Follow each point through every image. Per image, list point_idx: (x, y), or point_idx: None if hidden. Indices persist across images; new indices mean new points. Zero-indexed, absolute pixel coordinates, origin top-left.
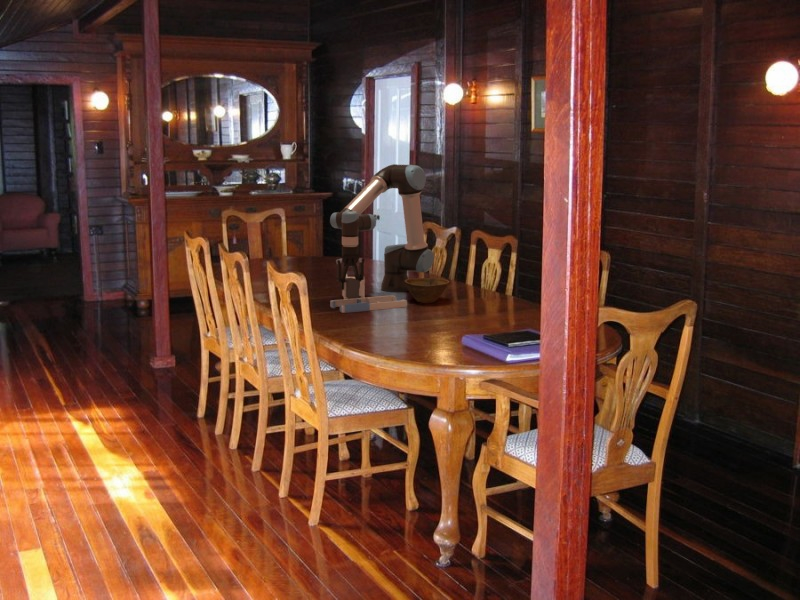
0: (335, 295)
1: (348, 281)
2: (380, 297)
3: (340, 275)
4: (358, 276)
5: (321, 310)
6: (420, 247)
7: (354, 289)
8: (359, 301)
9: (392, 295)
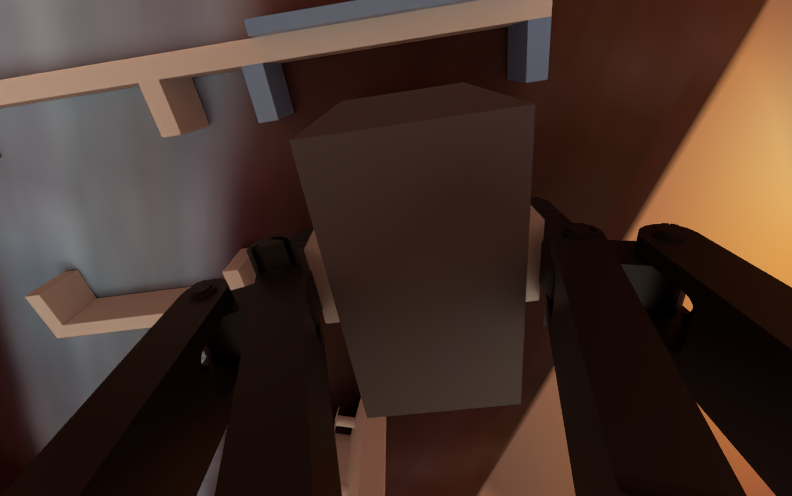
0: (391, 480)
1: (531, 131)
2: (151, 311)
3: (733, 294)
4: (267, 311)
5: (632, 163)
6: None
7: (398, 101)
8: None
9: (59, 330)
